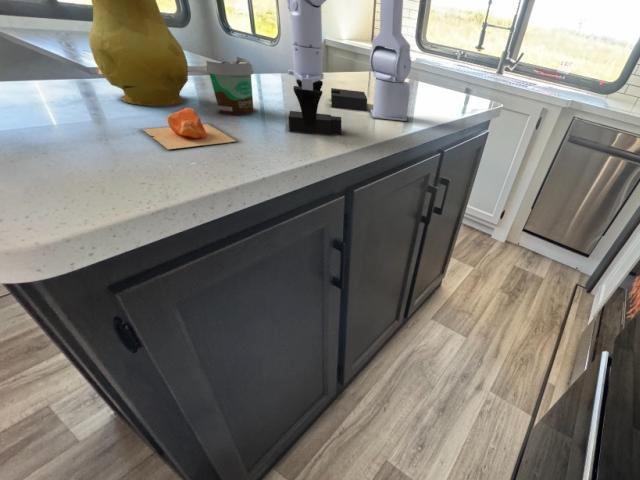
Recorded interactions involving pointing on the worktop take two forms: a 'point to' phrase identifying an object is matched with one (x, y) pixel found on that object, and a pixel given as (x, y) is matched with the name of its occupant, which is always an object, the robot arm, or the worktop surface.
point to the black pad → (322, 126)
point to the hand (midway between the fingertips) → (310, 121)
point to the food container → (232, 86)
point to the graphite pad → (348, 99)
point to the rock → (187, 131)
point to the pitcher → (138, 52)
